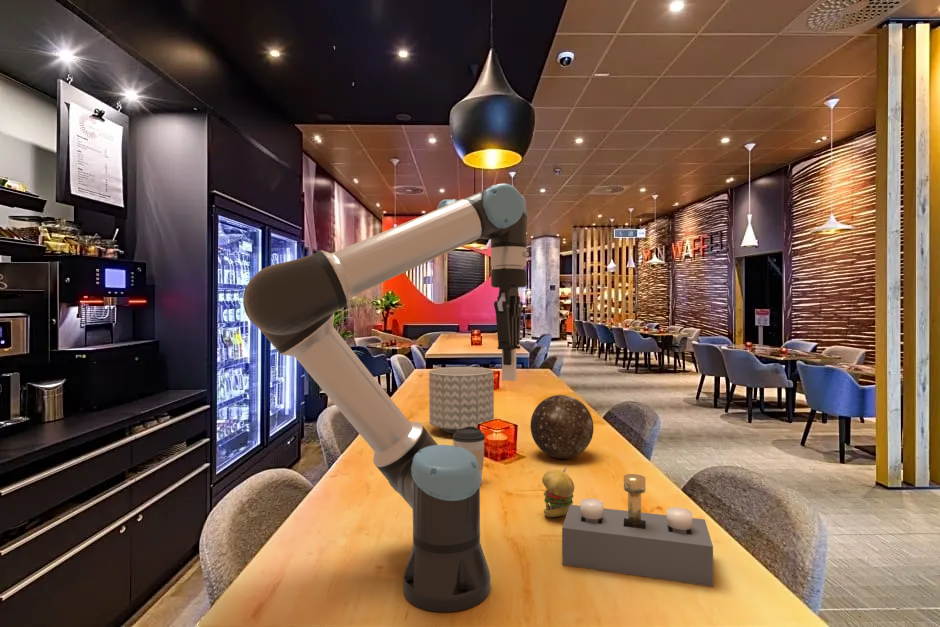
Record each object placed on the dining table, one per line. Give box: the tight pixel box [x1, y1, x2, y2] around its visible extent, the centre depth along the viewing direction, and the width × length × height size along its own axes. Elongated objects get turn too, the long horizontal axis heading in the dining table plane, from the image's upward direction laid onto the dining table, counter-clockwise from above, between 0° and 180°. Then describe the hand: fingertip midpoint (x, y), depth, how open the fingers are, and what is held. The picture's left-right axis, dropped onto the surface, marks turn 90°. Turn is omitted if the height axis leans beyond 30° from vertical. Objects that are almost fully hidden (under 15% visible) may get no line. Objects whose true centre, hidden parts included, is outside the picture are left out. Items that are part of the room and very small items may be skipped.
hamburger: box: [541, 466, 575, 518], centre depth 121 cm, size 8×7×12 cm
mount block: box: [561, 504, 714, 587], centre depth 100 cm, size 12×26×7 cm, turn 72°
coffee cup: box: [452, 426, 486, 486], centre depth 144 cm, size 9×9×15 cm
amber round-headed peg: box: [623, 473, 647, 528], centre depth 100 cm, size 4×4×10 cm
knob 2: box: [666, 506, 693, 534], centre depth 98 cm, size 4×4×10 cm
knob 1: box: [580, 498, 604, 523], centre depth 103 cm, size 4×4×10 cm
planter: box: [428, 366, 495, 435], centre depth 203 cm, size 25×25×24 cm
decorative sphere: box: [529, 394, 594, 459], centre depth 168 cm, size 20×20×20 cm
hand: (509, 379), depth 111 cm, fingers closed
